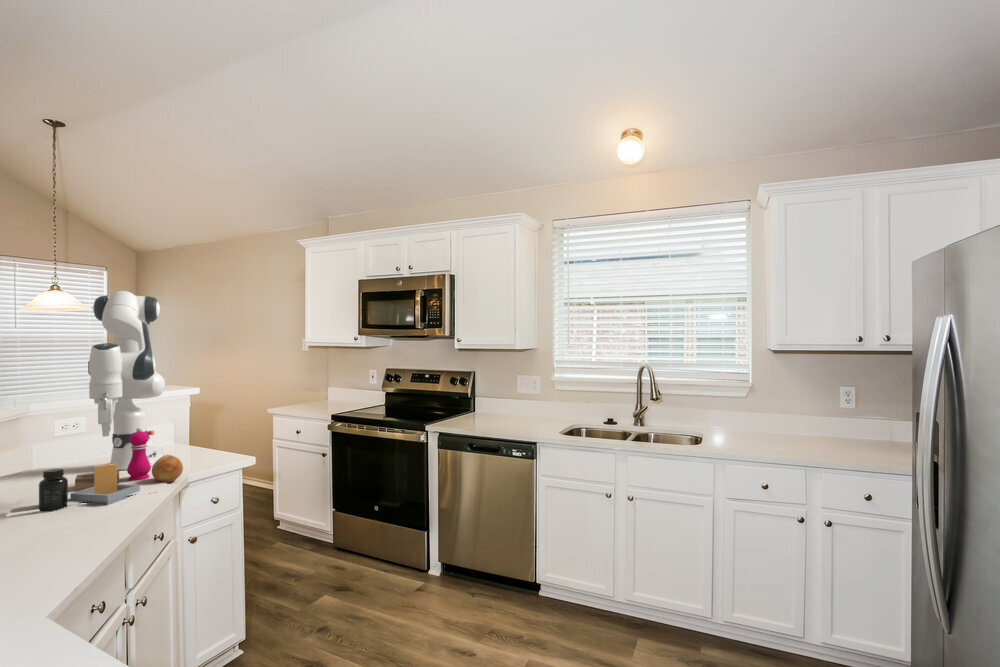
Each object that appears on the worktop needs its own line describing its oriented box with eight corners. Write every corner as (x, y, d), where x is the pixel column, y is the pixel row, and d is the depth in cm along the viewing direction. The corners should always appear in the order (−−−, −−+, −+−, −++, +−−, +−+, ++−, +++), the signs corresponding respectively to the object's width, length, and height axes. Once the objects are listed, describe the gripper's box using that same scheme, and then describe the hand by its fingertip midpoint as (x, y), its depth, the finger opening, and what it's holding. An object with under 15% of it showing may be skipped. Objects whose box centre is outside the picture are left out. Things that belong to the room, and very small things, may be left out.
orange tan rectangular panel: (94, 496, 171) (94, 466, 171) (117, 493, 174) (117, 463, 174) (94, 497, 170) (94, 466, 170) (116, 494, 173) (117, 464, 173)
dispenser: (77, 489, 183) (77, 473, 183) (119, 483, 190) (119, 468, 190) (75, 494, 176) (75, 478, 176) (118, 488, 183) (118, 472, 183)
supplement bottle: (44, 506, 164) (45, 468, 164) (71, 503, 166) (71, 466, 166) (34, 513, 157) (34, 473, 158) (62, 510, 160) (62, 471, 160)
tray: (104, 491, 179) (104, 483, 179) (139, 493, 177) (139, 484, 177) (70, 502, 167) (70, 493, 167) (107, 504, 165) (107, 495, 165)
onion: (144, 484, 188) (144, 457, 188) (170, 477, 197) (170, 451, 197) (163, 487, 185) (163, 459, 185) (189, 480, 194) (189, 453, 194)
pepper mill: (138, 484, 189) (138, 429, 189) (122, 483, 190) (122, 428, 190) (155, 478, 196) (155, 426, 196) (139, 477, 197) (139, 425, 197)
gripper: (117, 394, 166) (117, 437, 166) (118, 388, 182) (118, 427, 182) (92, 396, 162) (92, 440, 162) (95, 390, 179) (96, 430, 179)
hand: (106, 433), depth 172 cm, fingers open, 8 cm apart
